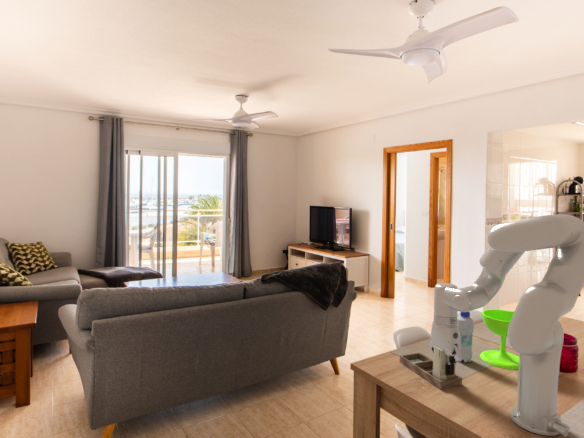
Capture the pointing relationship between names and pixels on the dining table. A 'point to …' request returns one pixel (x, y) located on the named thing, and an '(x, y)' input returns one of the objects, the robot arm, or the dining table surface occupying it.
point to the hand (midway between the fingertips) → (444, 370)
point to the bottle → (465, 335)
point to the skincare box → (440, 365)
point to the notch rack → (428, 375)
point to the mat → (415, 360)
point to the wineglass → (499, 325)
